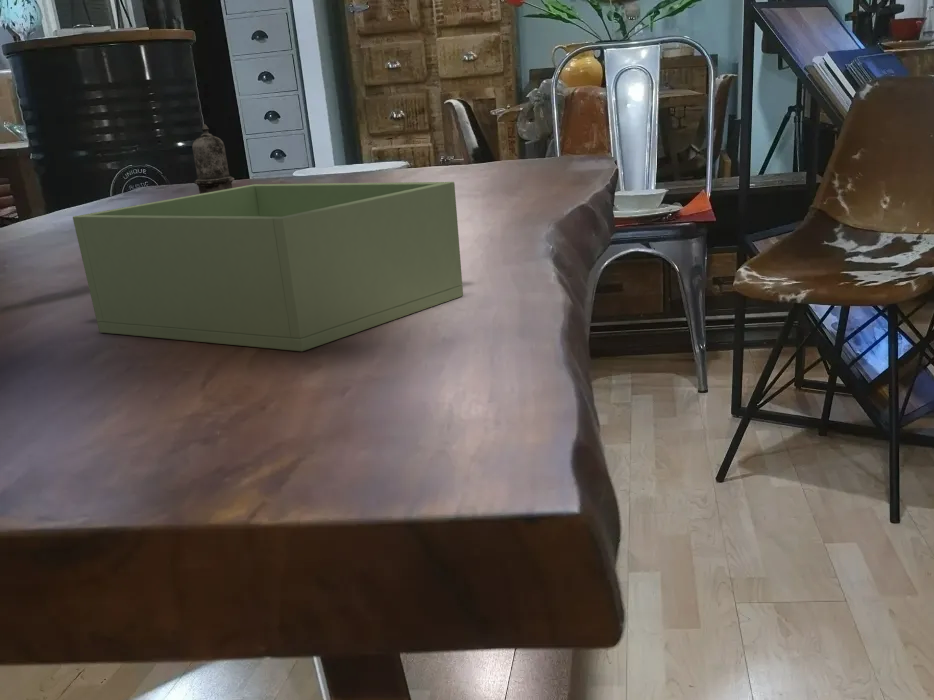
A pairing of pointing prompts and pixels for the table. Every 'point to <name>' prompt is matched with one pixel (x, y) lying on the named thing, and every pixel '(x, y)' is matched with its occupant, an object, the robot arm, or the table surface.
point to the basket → (272, 262)
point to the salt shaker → (211, 163)
